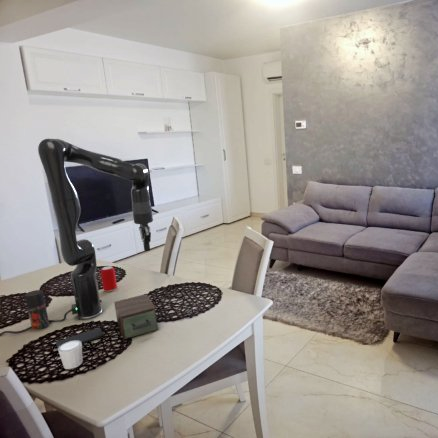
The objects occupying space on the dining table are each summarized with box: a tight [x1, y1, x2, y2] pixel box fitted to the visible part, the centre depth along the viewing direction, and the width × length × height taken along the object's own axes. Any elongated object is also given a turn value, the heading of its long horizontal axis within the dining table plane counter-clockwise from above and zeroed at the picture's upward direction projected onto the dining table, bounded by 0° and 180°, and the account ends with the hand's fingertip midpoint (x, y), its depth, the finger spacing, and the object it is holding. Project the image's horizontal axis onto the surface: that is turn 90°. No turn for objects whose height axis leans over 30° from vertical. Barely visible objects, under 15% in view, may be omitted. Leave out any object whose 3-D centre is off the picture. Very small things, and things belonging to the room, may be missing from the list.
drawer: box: [122, 310, 157, 340], centre depth 141 cm, size 19×11×8 cm, turn 33°
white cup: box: [57, 340, 84, 370], centre depth 121 cm, size 7×7×7 cm
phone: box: [55, 327, 104, 349], centre depth 137 cm, size 7×1×15 cm
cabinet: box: [113, 293, 159, 340], centre depth 145 cm, size 16×13×10 cm
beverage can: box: [100, 265, 118, 293], centre depth 182 cm, size 6×6×12 cm
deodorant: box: [24, 289, 50, 332], centre depth 146 cm, size 6×6×15 cm
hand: (147, 250), depth 156 cm, fingers closed
